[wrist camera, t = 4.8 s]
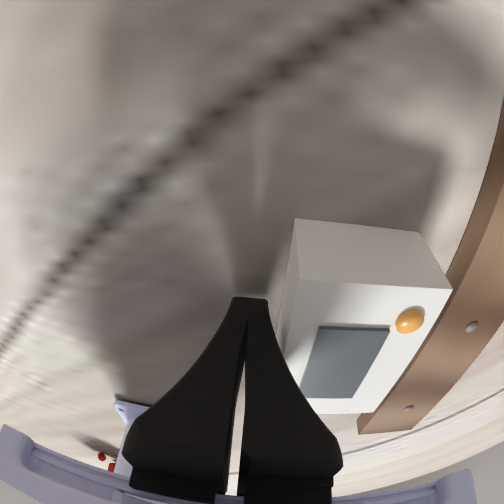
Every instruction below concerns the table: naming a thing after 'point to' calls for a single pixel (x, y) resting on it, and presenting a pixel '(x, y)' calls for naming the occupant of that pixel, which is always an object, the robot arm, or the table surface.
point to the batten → (455, 312)
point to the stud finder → (355, 311)
